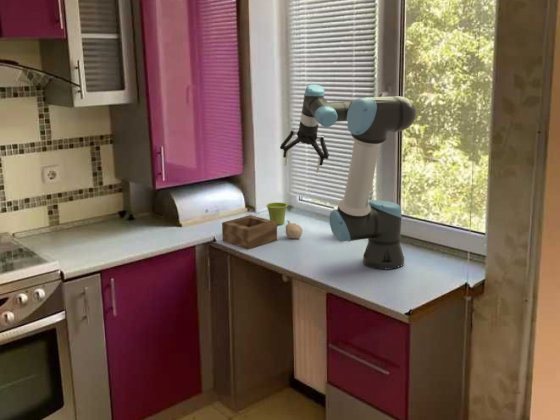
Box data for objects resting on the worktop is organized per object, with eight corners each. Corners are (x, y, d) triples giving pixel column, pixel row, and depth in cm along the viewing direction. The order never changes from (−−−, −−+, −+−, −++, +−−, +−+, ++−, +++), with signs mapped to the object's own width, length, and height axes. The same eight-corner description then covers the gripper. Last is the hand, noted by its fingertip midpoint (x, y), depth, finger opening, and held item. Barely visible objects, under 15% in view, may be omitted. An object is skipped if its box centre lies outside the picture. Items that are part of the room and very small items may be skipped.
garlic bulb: (294, 235, 275) (294, 217, 273) (305, 238, 270) (305, 220, 268) (283, 238, 271) (282, 220, 269) (293, 241, 266) (293, 223, 264)
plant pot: (280, 227, 286) (280, 208, 284) (262, 224, 291) (262, 205, 288) (291, 222, 294) (291, 204, 291) (273, 219, 298) (273, 201, 296)
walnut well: (277, 240, 268) (276, 222, 266) (248, 249, 257) (248, 230, 255) (250, 232, 279) (250, 214, 276) (222, 241, 268) (221, 222, 265)
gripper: (341, 124, 260) (332, 169, 272) (281, 112, 262) (274, 156, 275) (338, 133, 254) (329, 178, 266) (277, 120, 256) (270, 165, 268)
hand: (301, 167), depth 270 cm, fingers open, 13 cm apart
